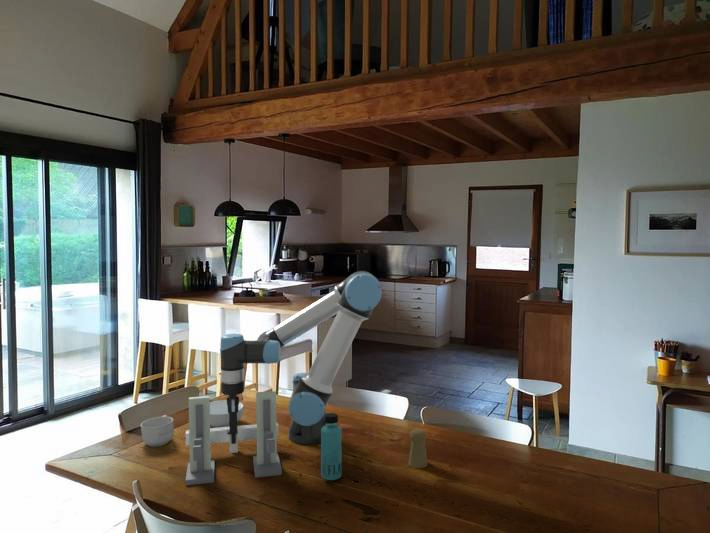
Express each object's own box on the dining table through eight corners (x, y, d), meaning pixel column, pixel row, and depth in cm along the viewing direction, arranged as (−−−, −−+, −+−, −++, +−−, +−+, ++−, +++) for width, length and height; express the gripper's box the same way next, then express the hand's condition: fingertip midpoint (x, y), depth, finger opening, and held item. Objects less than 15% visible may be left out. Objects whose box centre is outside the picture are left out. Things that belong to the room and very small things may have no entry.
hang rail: (277, 433, 180) (277, 422, 180) (278, 437, 177) (278, 425, 177) (186, 442, 173) (186, 430, 172) (185, 445, 170) (185, 433, 169)
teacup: (163, 451, 177) (162, 427, 176) (134, 448, 179) (133, 425, 178) (184, 435, 190) (184, 413, 190) (157, 433, 192) (157, 411, 192)
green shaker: (429, 461, 168) (430, 428, 167) (424, 469, 163) (424, 435, 162) (412, 458, 171) (412, 425, 170) (405, 465, 165) (406, 432, 165)
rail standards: (277, 458, 171) (277, 386, 169) (285, 492, 149) (285, 409, 147) (188, 467, 164) (186, 392, 162) (182, 504, 142) (180, 417, 140)
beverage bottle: (326, 487, 151) (325, 419, 150) (316, 477, 157) (316, 412, 156) (346, 482, 154) (346, 416, 153) (336, 473, 160) (336, 409, 159)
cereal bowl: (237, 432, 193) (237, 414, 192) (193, 432, 193) (192, 414, 192) (247, 416, 210) (247, 399, 209) (206, 416, 210) (206, 399, 209)
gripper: (221, 375, 180) (222, 441, 182) (220, 388, 165) (221, 461, 166) (243, 373, 182) (244, 439, 184) (245, 387, 167) (246, 458, 168)
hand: (233, 449), depth 175 cm, fingers closed on hang rail, 3 cm apart
